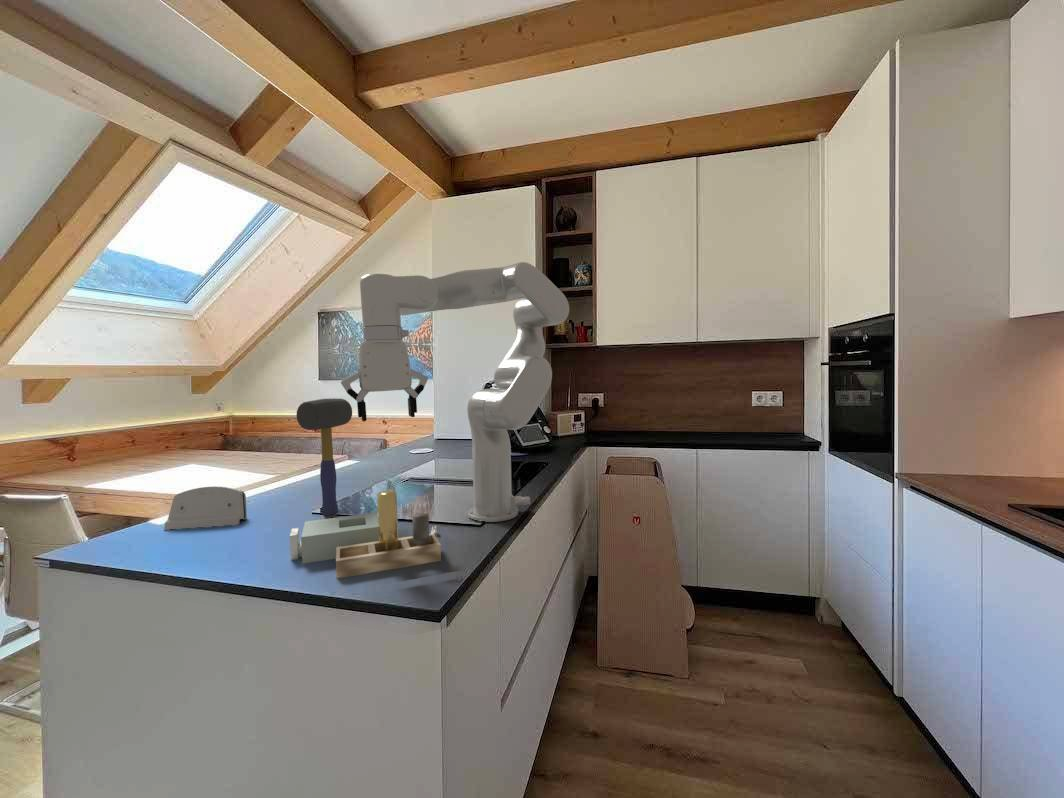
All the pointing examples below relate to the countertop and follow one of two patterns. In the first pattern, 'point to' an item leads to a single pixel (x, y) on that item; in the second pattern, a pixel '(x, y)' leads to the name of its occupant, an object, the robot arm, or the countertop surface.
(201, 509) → the grey rounded block
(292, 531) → the t-shaped push slider
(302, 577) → the countertop surface
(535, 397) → the robot arm
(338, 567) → the rack
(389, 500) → the gold cylindrical peg
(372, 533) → the socket block
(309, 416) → the rubber mallet
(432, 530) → the adhesive hook
